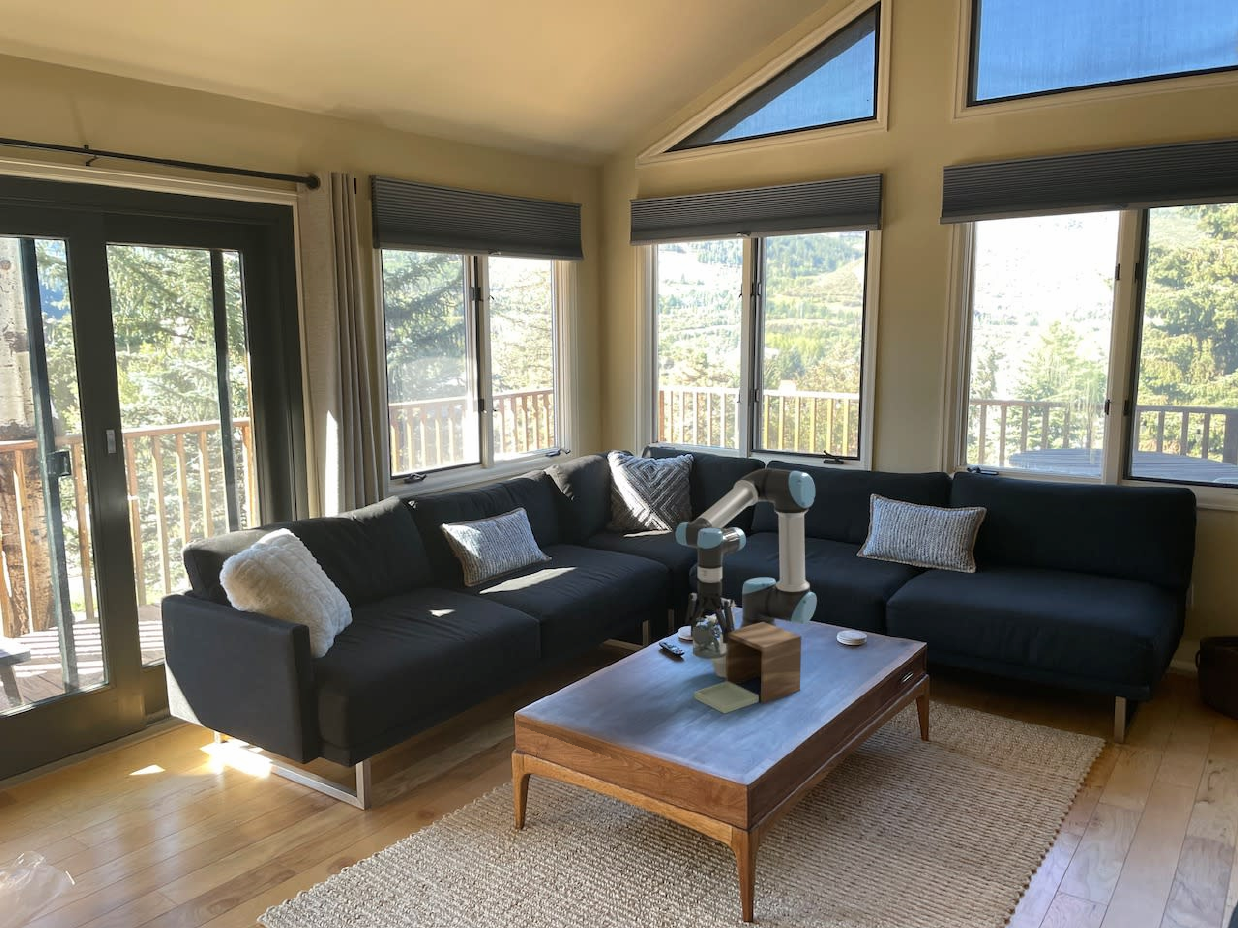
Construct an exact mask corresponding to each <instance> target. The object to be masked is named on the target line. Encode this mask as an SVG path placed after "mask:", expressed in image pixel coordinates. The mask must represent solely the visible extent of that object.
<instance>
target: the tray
mask: <svg viewBox="0 0 1238 928" xmlns="http://www.w3.org/2000/svg"><path fill="white" fill-rule="evenodd" d="M693 695H694V697H693V698H694V699H695V700H697V701H699V702H701V703H702V704H705V705H707V706H709V707H711V708H713V709H714V710H717V711H718V712H721V713H723V714H727V713H731V712H733V711H737V710H739V709H742V708H745V707H748V706H751V705H753V704H756V703H759V702H760V701H759V700H760V697H759V696H760V695H759V694H757V693H755V692H752V691H750V690H748V689H746V688H744V687H741V686H739V685H737V684H733V683H731V682H729V681H726V680H725V681H724V682H721V683H718V684H714V685H711V686H707V687H705V688H702V689H699V690H695V691H694V694H693Z"/></svg>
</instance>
